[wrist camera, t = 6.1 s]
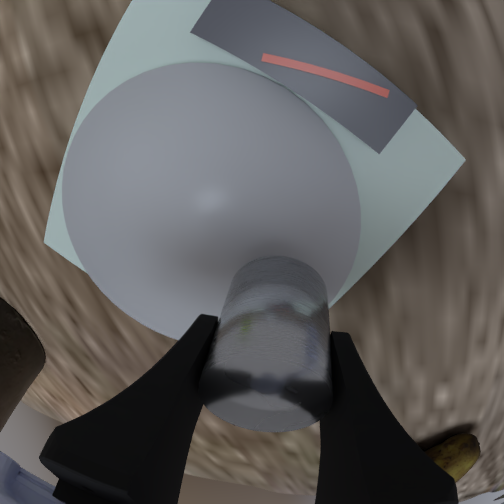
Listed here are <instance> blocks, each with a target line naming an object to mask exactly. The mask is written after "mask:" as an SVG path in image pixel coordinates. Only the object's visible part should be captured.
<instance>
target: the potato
mask: <svg viewBox="0 0 504 504" xmlns="http://www.w3.org/2000/svg"><path fill="white" fill-rule="evenodd" d="M479 444H480V443H479V442H478V440H477V438H476V436H474V435H472V434H458V435H455V436H452V437H450V438H449V439H447V440H446V441H445V442H443V443H441V444H439V445H437V446H434V447H432V448H430V449H428V450H427V451H425V453H426V454H427V455H428V456H429V457H430V458H431V459H432V460H433V461H434V462H435V463H436V464H437V465H438V466H440V467H441V468H442V469H443V470H444V471H446V472H447V473H448V474H449V475H450V476H452V477H453V478H454V480H455V483H456V482H457V481H459V480H460V479H461V478H462V477H463V476H464V475H465V474H466V473H467V472H468V471H469V470H470V469H471V468H472V466H473V465H474V464H475V462H476V461H477V459H478V458H479V456H480V452H481V451H480V446H479Z"/></svg>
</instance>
